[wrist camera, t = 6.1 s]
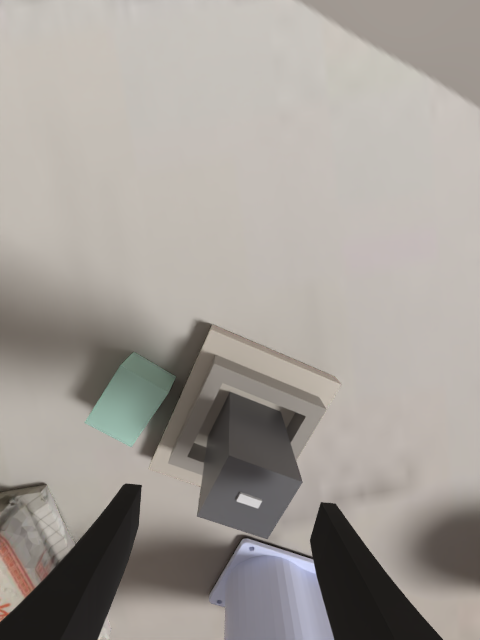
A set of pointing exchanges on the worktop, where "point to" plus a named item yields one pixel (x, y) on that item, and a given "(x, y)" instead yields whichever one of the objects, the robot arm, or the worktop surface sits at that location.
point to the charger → (248, 468)
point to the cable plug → (131, 399)
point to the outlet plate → (245, 380)
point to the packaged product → (30, 545)
